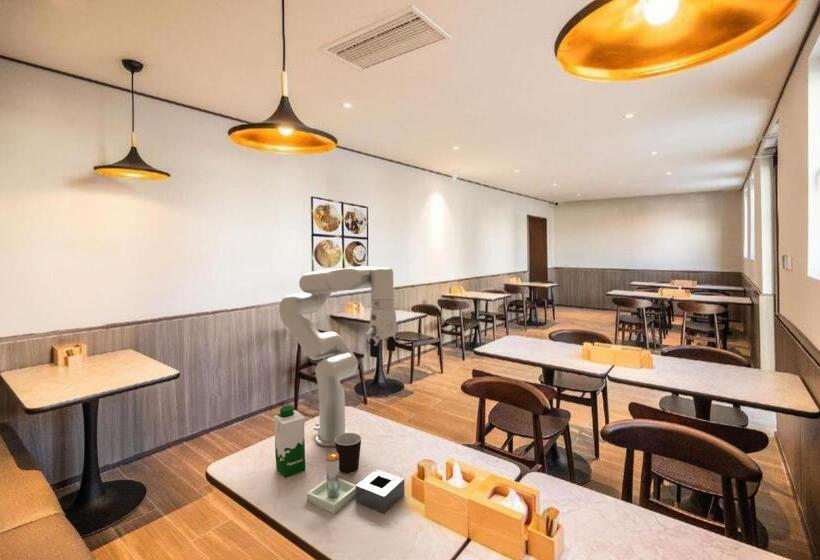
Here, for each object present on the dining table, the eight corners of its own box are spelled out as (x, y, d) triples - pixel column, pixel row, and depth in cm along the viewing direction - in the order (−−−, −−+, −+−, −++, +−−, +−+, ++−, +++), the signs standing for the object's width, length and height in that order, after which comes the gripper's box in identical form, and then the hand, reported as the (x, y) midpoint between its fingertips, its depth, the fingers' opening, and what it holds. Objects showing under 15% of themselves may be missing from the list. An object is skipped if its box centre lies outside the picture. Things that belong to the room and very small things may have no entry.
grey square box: (355, 502, 113) (355, 485, 113) (376, 484, 121) (376, 468, 121) (384, 514, 108) (384, 496, 107) (404, 495, 116) (404, 478, 116)
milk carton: (297, 459, 136) (296, 403, 135) (309, 470, 129) (308, 411, 128) (272, 468, 131) (270, 409, 129) (283, 481, 124) (281, 418, 122)
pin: (324, 496, 114) (323, 456, 114) (333, 490, 117) (332, 450, 117) (333, 500, 113) (332, 459, 112) (342, 493, 116) (341, 454, 115)
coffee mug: (356, 476, 126) (356, 446, 125) (331, 474, 127) (330, 443, 127) (367, 458, 137) (367, 430, 136) (344, 455, 139) (343, 428, 138)
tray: (307, 501, 113) (306, 493, 113) (332, 483, 122) (332, 475, 122) (334, 513, 108) (334, 505, 108) (358, 494, 117) (358, 485, 117)
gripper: (376, 308, 125) (376, 361, 126) (405, 301, 140) (405, 349, 141) (357, 306, 129) (358, 358, 130) (388, 300, 144) (388, 347, 145)
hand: (383, 353), depth 136 cm, fingers open, 9 cm apart
